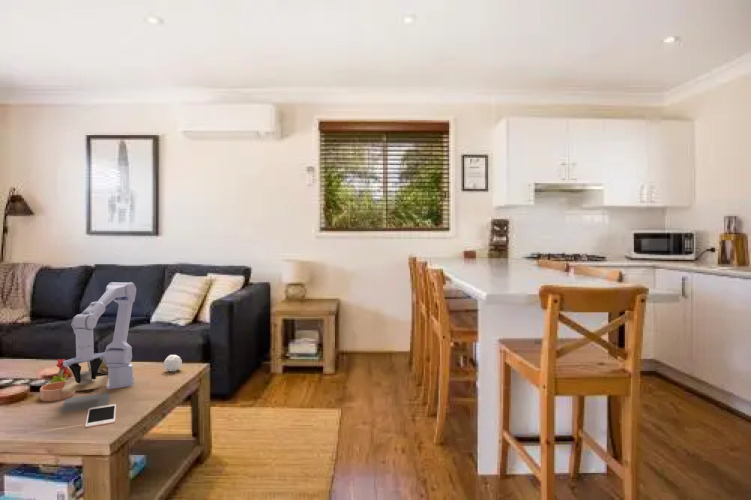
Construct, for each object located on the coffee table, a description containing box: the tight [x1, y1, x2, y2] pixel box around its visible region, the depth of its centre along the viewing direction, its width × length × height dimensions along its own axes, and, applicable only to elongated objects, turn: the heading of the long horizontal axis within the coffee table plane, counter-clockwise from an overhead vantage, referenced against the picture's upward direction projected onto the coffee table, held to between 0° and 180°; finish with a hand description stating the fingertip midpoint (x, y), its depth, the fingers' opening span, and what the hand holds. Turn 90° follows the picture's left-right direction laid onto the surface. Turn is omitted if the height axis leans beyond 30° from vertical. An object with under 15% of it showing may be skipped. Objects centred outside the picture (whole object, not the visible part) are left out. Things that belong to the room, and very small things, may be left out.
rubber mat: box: [60, 392, 111, 414], centre depth 179 cm, size 15×15×1 cm
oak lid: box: [61, 370, 109, 393], centre depth 178 cm, size 14×14×4 cm
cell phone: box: [84, 403, 117, 429], centre depth 167 cm, size 9×18×1 cm, turn 28°
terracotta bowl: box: [39, 381, 76, 402], centre depth 185 cm, size 11×11×4 cm
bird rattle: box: [49, 358, 70, 384], centre depth 201 cm, size 6×11×9 cm
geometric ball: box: [163, 354, 183, 372], centre depth 219 cm, size 8×8×8 cm
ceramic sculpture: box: [87, 358, 108, 375], centre depth 215 cm, size 11×9×15 cm
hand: (85, 380), depth 178 cm, fingers closed on oak lid, 5 cm apart
